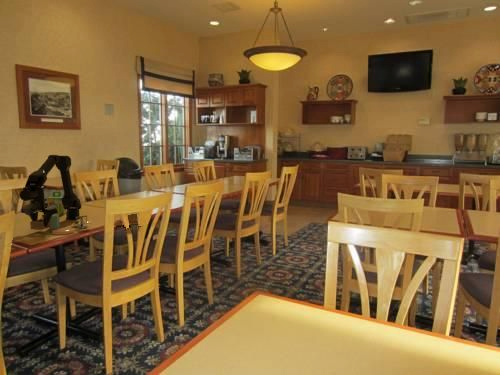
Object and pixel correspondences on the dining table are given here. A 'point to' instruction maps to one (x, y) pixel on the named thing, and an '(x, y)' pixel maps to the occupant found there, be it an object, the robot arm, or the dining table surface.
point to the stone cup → (131, 218)
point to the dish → (63, 231)
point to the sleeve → (39, 224)
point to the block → (54, 222)
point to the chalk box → (56, 203)
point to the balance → (81, 222)
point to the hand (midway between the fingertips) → (40, 226)
